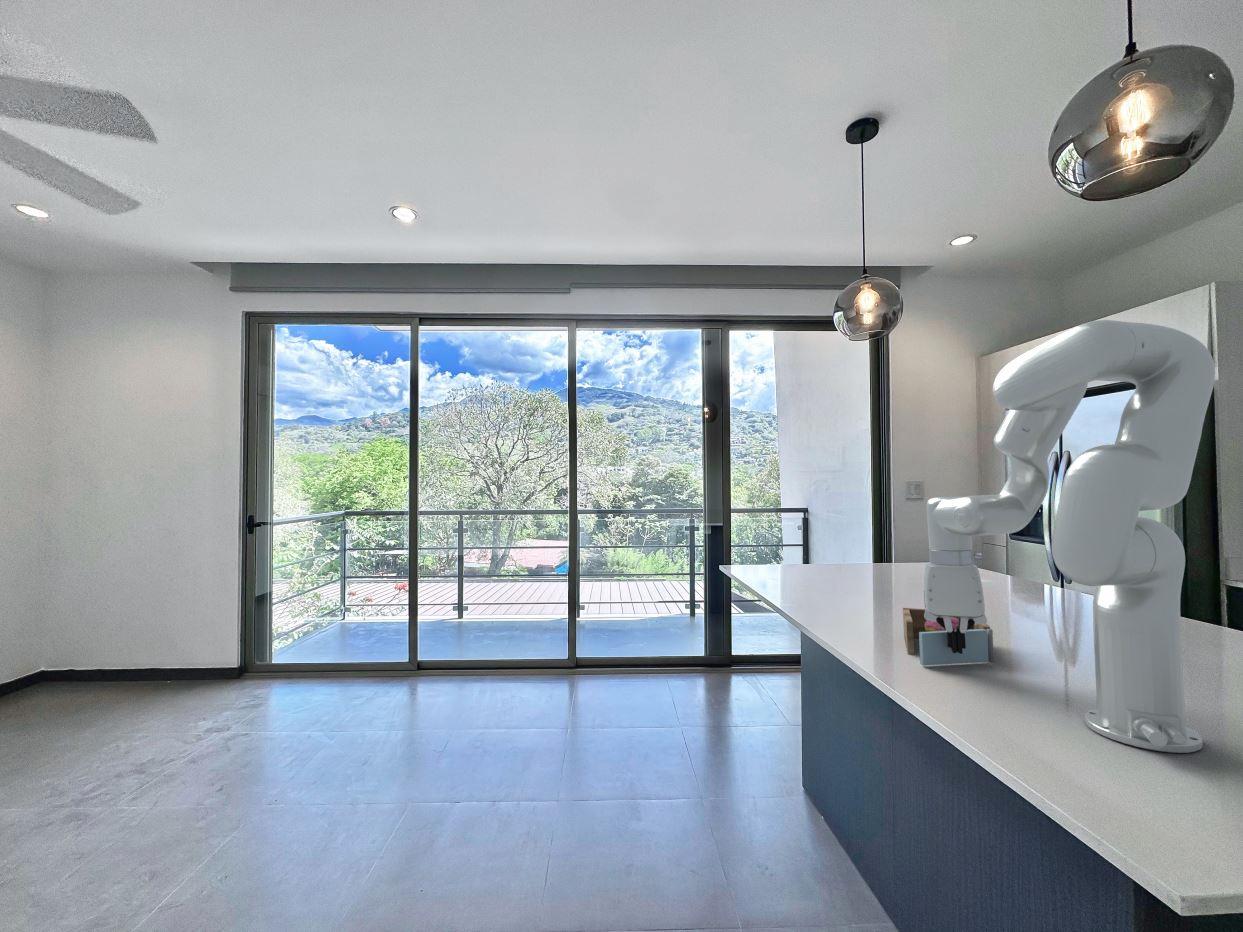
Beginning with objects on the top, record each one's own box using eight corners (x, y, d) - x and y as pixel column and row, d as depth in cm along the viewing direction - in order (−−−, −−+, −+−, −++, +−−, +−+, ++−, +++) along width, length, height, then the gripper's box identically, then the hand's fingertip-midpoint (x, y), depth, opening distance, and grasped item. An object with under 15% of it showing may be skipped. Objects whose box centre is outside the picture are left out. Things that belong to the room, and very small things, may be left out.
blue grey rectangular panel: (995, 661, 113) (993, 629, 113) (923, 665, 112) (922, 633, 112) (991, 660, 114) (990, 628, 114) (920, 663, 113) (918, 632, 113)
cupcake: (977, 654, 119) (974, 598, 120) (935, 654, 120) (933, 598, 120) (957, 643, 128) (955, 590, 128) (918, 642, 129) (916, 590, 129)
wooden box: (991, 661, 114) (990, 627, 114) (907, 654, 120) (906, 621, 121) (979, 643, 127) (978, 612, 127) (904, 637, 133) (902, 607, 133)
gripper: (991, 557, 111) (998, 650, 110) (908, 555, 118) (913, 643, 117) (999, 561, 105) (1005, 660, 104) (909, 559, 111) (915, 653, 110)
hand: (956, 651), depth 110 cm, fingers closed
